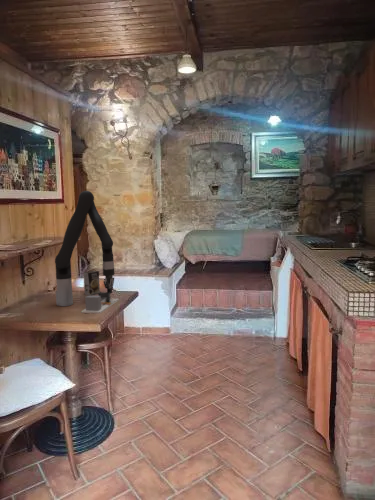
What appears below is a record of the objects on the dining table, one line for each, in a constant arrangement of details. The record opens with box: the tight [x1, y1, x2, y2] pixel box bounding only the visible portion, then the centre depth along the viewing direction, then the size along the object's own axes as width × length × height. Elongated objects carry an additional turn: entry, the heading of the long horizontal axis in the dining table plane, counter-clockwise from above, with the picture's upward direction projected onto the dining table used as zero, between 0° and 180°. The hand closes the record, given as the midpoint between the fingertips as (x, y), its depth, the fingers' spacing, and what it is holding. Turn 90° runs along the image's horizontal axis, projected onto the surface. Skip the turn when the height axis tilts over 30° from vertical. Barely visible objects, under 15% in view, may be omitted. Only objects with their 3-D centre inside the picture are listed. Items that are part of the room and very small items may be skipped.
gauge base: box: [80, 295, 120, 314], centre depth 234 cm, size 12×31×9 cm, turn 170°
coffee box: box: [83, 270, 101, 296], centre depth 268 cm, size 9×6×16 cm
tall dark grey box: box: [97, 291, 111, 306], centre depth 233 cm, size 10×13×6 cm
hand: (109, 293), depth 248 cm, fingers closed
